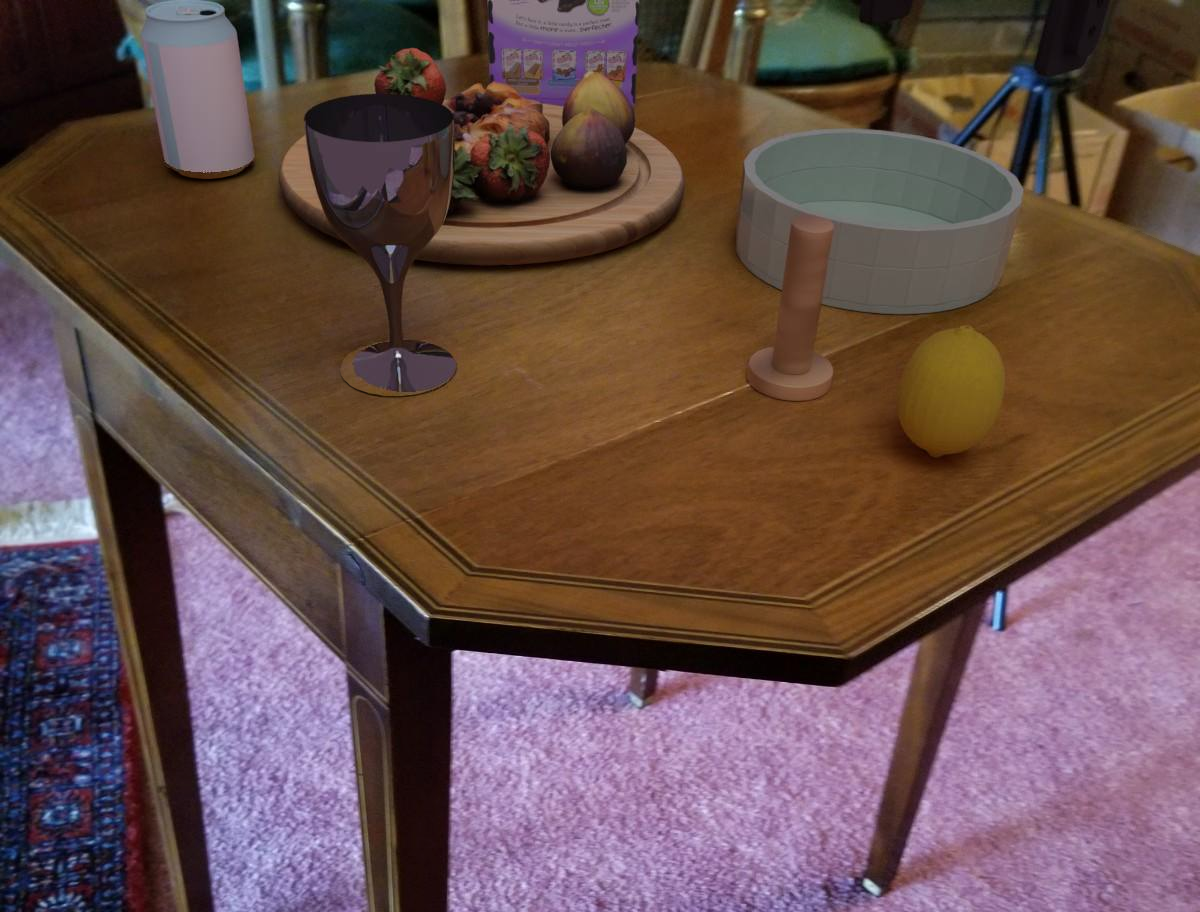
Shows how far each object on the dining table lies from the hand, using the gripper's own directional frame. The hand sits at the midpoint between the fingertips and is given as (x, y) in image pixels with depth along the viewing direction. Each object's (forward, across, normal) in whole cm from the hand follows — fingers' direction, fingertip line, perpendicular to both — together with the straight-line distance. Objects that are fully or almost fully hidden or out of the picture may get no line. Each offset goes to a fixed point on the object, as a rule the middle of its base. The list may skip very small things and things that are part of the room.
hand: (967, 44), depth 55 cm
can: (+22, +61, +10) cm, 66 cm away
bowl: (+22, +18, -20) cm, 35 cm away
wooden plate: (+22, +44, -5) cm, 50 cm away
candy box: (+22, +59, -25) cm, 67 cm away
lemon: (+22, -3, -2) cm, 22 cm away
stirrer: (+22, +8, -2) cm, 23 cm away
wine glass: (+22, +24, +17) cm, 37 cm away
